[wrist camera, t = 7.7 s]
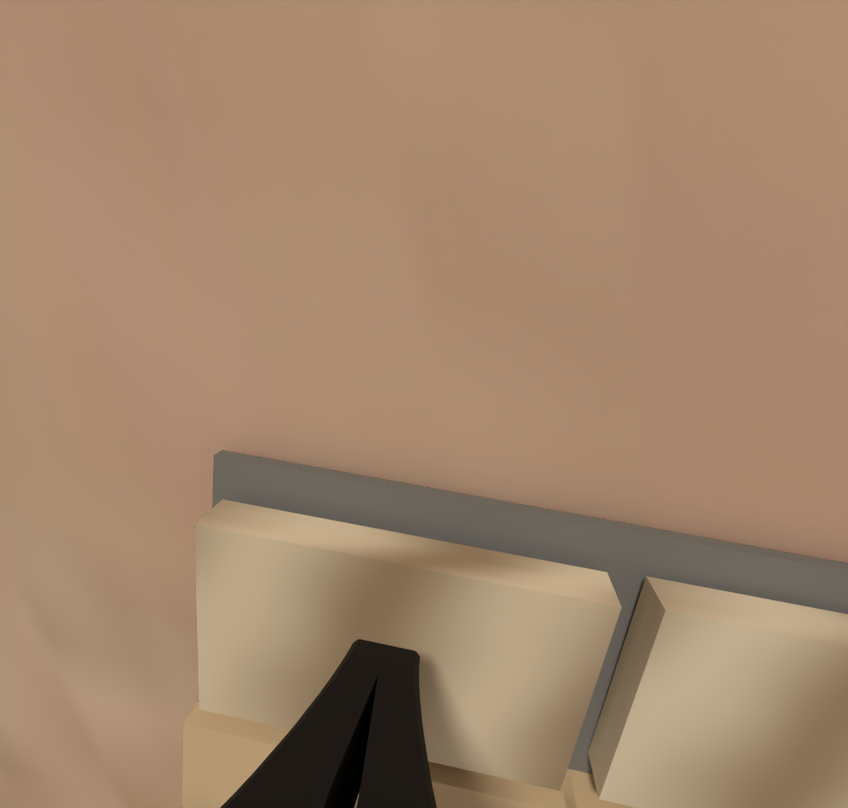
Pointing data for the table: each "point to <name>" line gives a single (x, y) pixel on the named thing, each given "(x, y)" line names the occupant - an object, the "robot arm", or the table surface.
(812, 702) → the plank
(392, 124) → the table surface
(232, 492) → the floor base
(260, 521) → the plank
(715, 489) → the table surface
